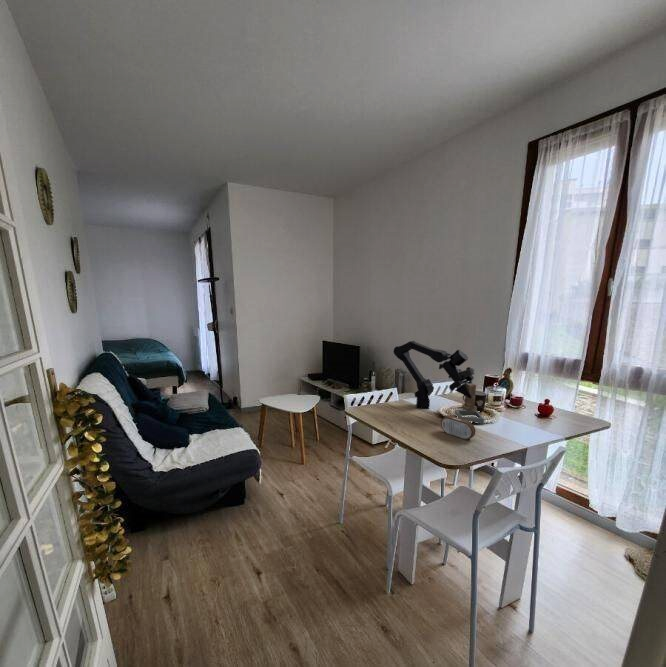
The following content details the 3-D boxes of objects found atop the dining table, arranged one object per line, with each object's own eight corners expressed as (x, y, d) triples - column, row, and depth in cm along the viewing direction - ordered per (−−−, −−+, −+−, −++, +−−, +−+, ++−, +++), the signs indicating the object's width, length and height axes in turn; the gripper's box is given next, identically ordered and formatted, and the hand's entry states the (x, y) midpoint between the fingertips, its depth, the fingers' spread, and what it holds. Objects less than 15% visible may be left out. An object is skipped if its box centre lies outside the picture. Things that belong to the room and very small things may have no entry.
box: (460, 423, 158) (460, 417, 157) (455, 415, 168) (455, 409, 168) (483, 424, 156) (484, 418, 156) (476, 416, 167) (477, 410, 167)
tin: (475, 440, 138) (476, 422, 137) (472, 443, 136) (473, 424, 135) (442, 430, 149) (443, 412, 148) (439, 432, 147) (440, 414, 146)
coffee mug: (486, 409, 177) (487, 392, 176) (484, 414, 170) (485, 396, 169) (464, 405, 183) (465, 388, 182) (461, 410, 176) (462, 392, 175)
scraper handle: (467, 411, 159) (468, 385, 157) (462, 407, 164) (463, 383, 162) (476, 410, 160) (478, 385, 158) (471, 407, 164) (472, 382, 163)
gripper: (456, 364, 155) (478, 391, 149) (471, 359, 168) (492, 384, 162) (440, 377, 161) (460, 404, 155) (455, 371, 175) (475, 395, 168)
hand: (472, 396), depth 160 cm, fingers closed on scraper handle, 5 cm apart
